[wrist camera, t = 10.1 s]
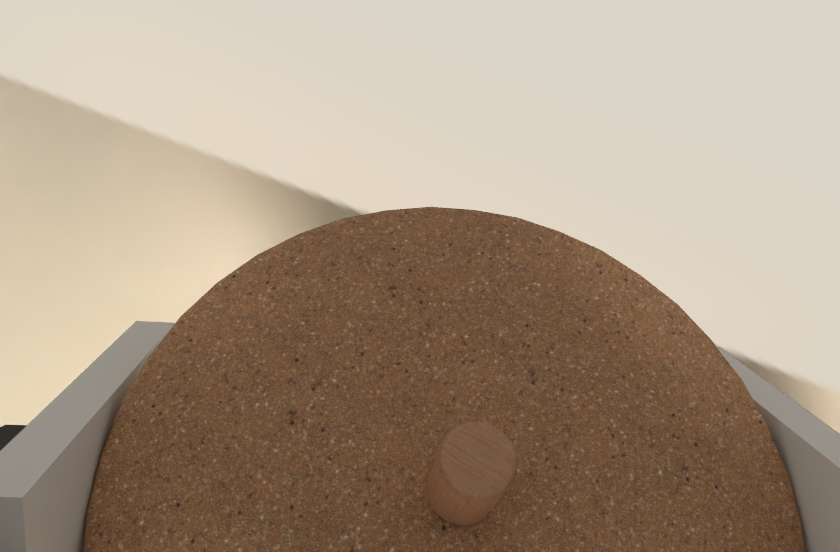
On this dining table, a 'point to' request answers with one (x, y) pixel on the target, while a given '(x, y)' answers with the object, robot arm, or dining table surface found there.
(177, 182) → the dining table surface
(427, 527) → the lidded jar
